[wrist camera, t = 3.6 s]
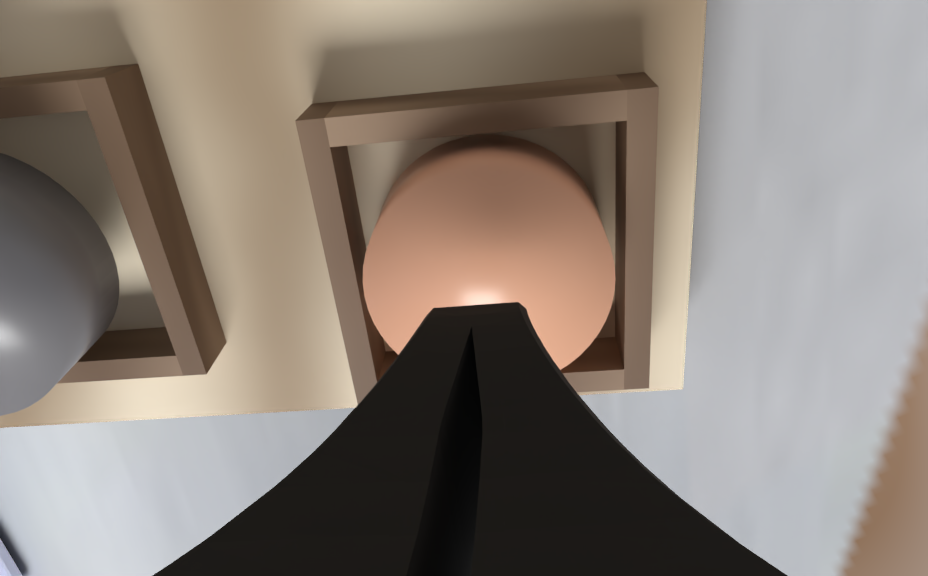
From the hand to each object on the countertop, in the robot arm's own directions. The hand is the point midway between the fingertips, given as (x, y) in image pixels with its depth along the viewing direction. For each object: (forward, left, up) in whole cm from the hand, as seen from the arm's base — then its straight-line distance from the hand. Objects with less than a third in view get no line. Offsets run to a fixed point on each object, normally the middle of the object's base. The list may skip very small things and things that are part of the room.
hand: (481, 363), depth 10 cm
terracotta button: (0, 0, -4) cm, 4 cm away
